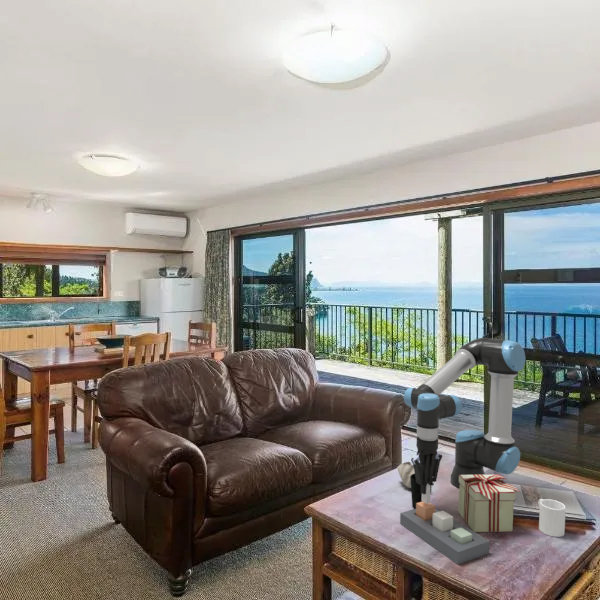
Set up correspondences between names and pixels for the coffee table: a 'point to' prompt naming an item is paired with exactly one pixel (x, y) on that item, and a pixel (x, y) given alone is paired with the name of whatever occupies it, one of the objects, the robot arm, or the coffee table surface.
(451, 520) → the ivory key
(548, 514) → the mug
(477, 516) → the gift box
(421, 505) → the peach cube
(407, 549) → the coffee table surface
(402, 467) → the seashell
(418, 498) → the cup
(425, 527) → the key panel
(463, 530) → the sage key
